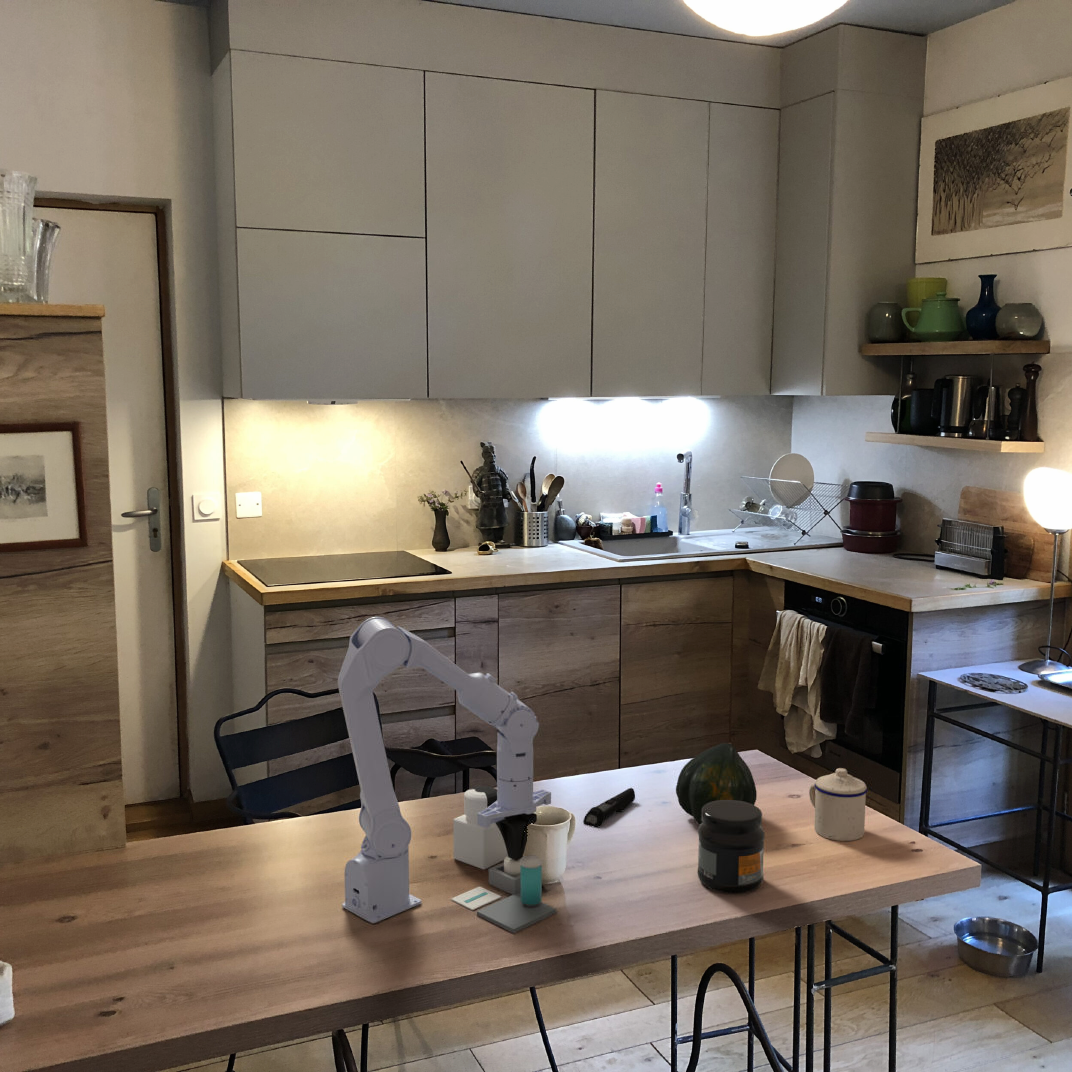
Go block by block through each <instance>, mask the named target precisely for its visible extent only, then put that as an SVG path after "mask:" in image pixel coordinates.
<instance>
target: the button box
mask: <svg viewBox="0 0 1072 1072" xmlns="http://www.w3.org/2000/svg"><path fill="white" fill-rule="evenodd" d="M488 884H489V885H491V886H493V887H495V888H498V889H499V890H501V891H503V892H506V893H508V894H511V896H512V895H514V894H516V893H518V892H521V875H519V876H517V877H513V876H511V875H509V874H506V873H504V862H502V863H498V864H497V865H493V867H492V866H491V867H489V868H488Z"/></svg>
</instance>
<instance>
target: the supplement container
mask: <svg viewBox="0 0 1072 1072" xmlns="http://www.w3.org/2000/svg"><path fill="white" fill-rule="evenodd" d="M762 825H763V812H762V809H760V808H759V807H758V806H756V805H752V804H750V803H747V802H743V801H737V800H717V801H712V802H709V803H707V804H705V805H704V806H703V808H702V823H701V824H700V825H699V826H698V828H697V834H698V852H697V853H698V855H697V856H698V857H697V859H698V861H697V876H698V879H699V881H700V882H701V883H702V884H703V885H704V886H705V887H707V888H709V889H711V890H713V891H715V892H720V893H723V894H730V895H731V894H734V895H735V894H737V895H738V893H739V894H747V893H750V892H752V891H755V890H756V889H758V888H759V887H760V886H761V885H762V884H763V880H764V851H765V848H764V846H765V843H764V842H765V838H766V833H765V830H764V828H763V827H762Z"/></svg>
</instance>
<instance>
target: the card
mask: <svg viewBox="0 0 1072 1072" xmlns="http://www.w3.org/2000/svg"><path fill="white" fill-rule="evenodd" d="M499 899H502V896H501V895H499V894H497V893H495V892H492V891H490V890H489V889H486V888H484V887H482V886H477V887H475V888H472V889H470V890H468V891H465V892H463V893H461V894H458V895H456V896H454V897H452V898H450V900H451V902H454V903H457V904H458V905H460V906H463V907H465V908H466V909H469V910H471V911H475V910H477V909H480V908H482V907H483V906H486V905H488V904H490V903H491V904H492V903H493V902H495V901H497V900H499Z"/></svg>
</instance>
